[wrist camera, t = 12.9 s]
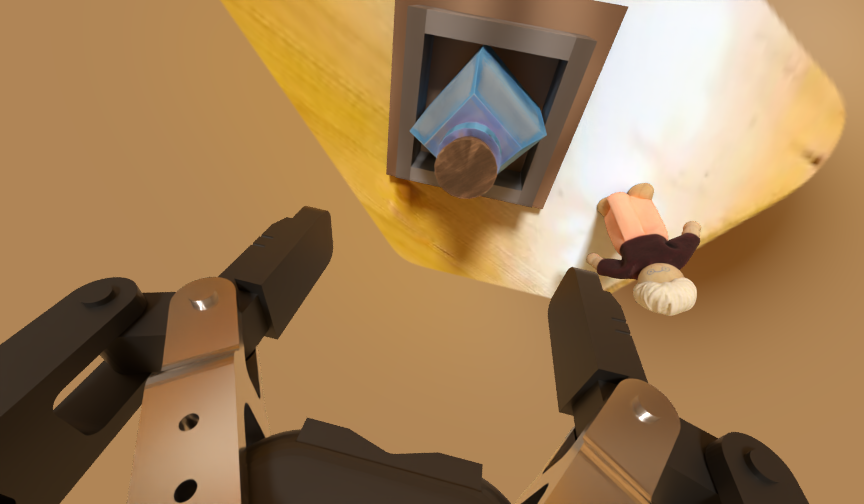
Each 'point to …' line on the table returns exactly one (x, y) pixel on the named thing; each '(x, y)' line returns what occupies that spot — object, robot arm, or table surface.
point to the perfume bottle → (479, 125)
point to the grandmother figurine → (647, 251)
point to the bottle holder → (523, 55)
